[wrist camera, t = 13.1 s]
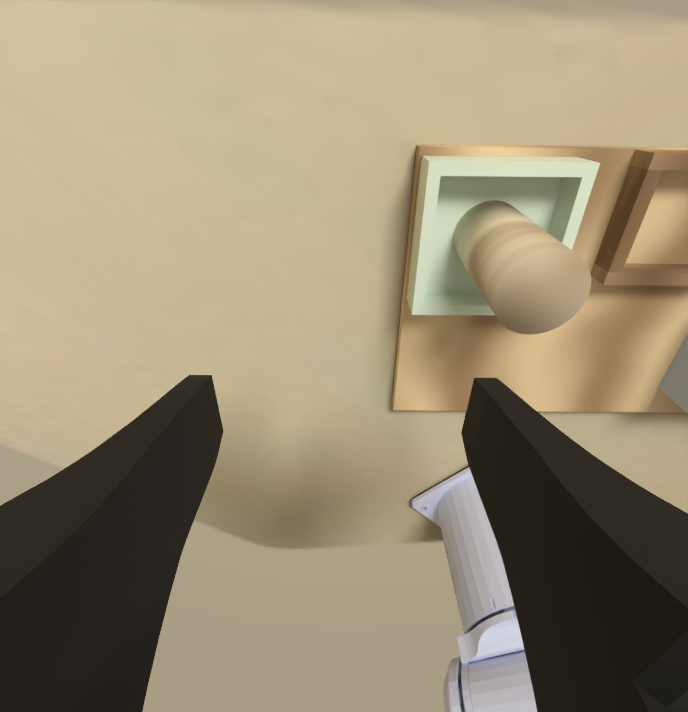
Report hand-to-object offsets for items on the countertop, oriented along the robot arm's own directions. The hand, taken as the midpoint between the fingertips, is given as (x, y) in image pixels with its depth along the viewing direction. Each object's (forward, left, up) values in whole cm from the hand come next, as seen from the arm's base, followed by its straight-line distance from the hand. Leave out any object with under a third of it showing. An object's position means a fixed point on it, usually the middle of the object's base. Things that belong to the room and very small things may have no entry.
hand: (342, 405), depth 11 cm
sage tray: (-3, -6, -10) cm, 12 cm away
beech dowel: (-3, -6, -9) cm, 11 cm away
